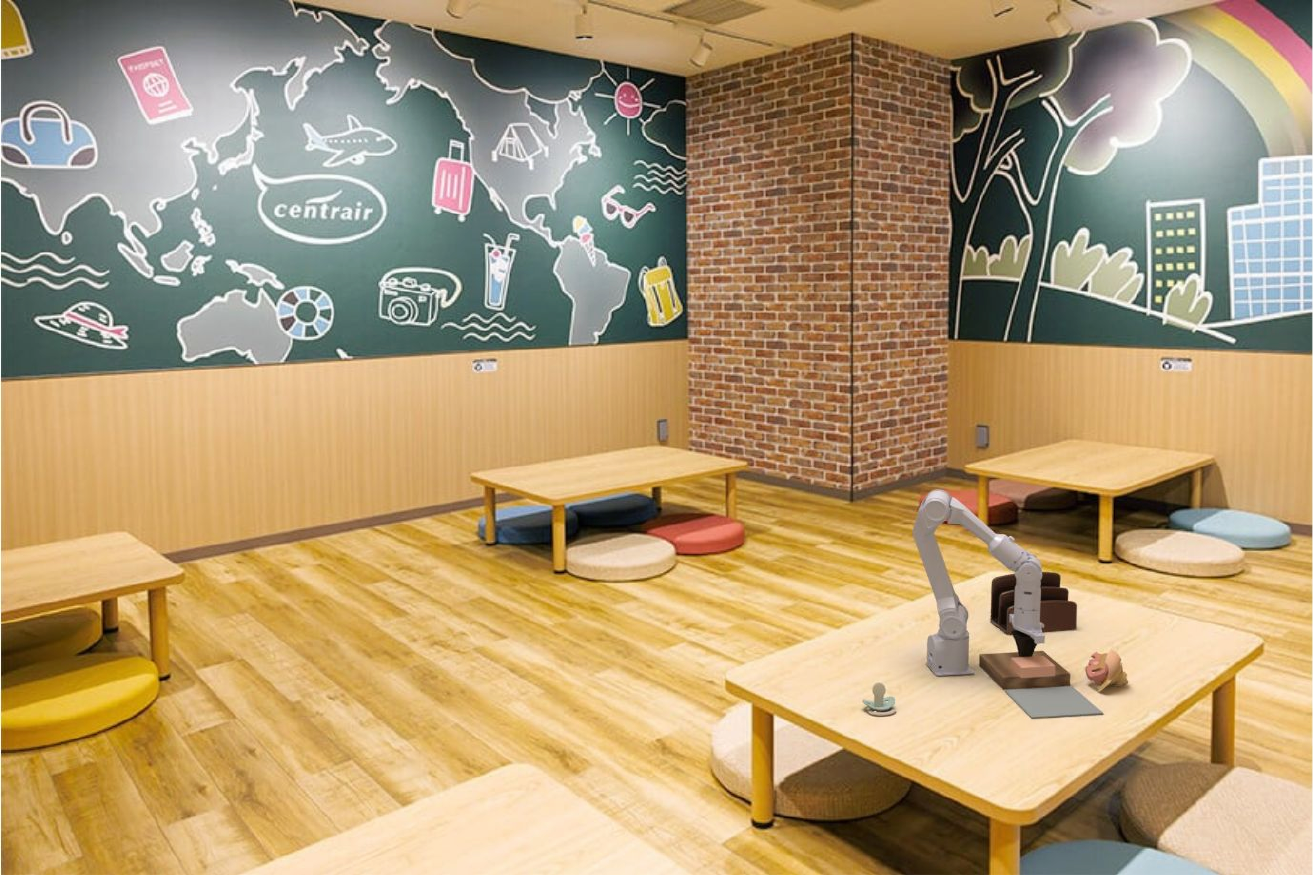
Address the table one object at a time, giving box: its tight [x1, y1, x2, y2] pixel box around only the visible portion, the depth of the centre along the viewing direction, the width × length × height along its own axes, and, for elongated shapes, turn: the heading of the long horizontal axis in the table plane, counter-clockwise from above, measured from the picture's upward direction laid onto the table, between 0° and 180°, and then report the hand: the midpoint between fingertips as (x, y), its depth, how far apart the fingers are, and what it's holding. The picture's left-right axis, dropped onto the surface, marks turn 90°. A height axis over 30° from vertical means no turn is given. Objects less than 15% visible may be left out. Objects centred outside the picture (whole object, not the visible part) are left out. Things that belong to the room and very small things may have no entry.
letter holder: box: [989, 571, 1078, 636], centre depth 263 cm, size 10×20×14 cm, turn 97°
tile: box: [1010, 656, 1055, 678], centre depth 228 cm, size 8×6×2 cm
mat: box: [1004, 685, 1104, 720], centre depth 218 cm, size 16×14×1 cm
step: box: [978, 650, 1071, 691], centre depth 233 cm, size 16×14×3 cm
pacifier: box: [861, 682, 897, 717], centre depth 217 cm, size 7×6×6 cm
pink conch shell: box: [1084, 649, 1129, 693], centre depth 225 cm, size 9×10×10 cm
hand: (1025, 661), depth 232 cm, fingers closed
